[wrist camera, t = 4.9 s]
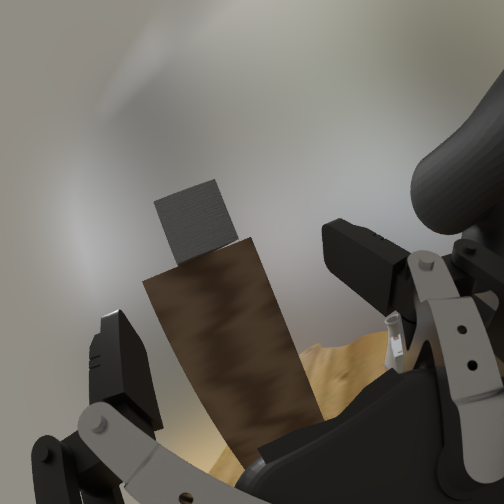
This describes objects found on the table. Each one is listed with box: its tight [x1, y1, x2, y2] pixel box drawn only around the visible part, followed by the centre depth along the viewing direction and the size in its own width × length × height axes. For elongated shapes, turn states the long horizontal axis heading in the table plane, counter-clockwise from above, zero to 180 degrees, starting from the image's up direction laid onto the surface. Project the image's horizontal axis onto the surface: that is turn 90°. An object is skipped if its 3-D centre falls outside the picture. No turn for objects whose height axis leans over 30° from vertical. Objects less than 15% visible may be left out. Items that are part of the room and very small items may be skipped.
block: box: [154, 179, 239, 266], centre depth 24 cm, size 4×25×4 cm, turn 15°
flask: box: [384, 315, 400, 371], centre depth 44 cm, size 7×7×10 cm
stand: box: [142, 237, 324, 470], centre depth 30 cm, size 12×16×32 cm
